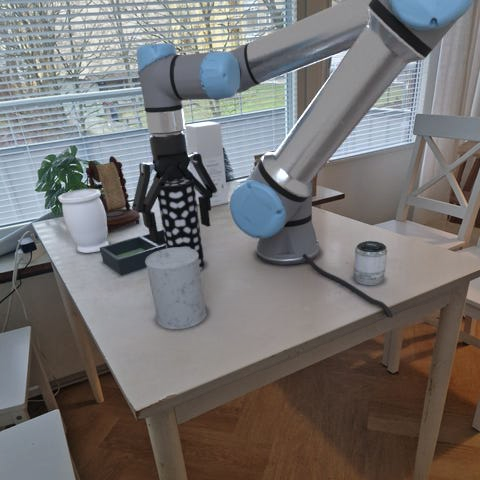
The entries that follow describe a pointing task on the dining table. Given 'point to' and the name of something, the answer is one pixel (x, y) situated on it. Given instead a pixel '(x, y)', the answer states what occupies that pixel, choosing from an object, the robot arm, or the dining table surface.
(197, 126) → the tall white carton
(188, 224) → the white-spotted black cylinder
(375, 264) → the camera lens
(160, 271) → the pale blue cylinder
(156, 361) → the dining table surface
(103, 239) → the jar
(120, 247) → the divided tray
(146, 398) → the dining table surface
